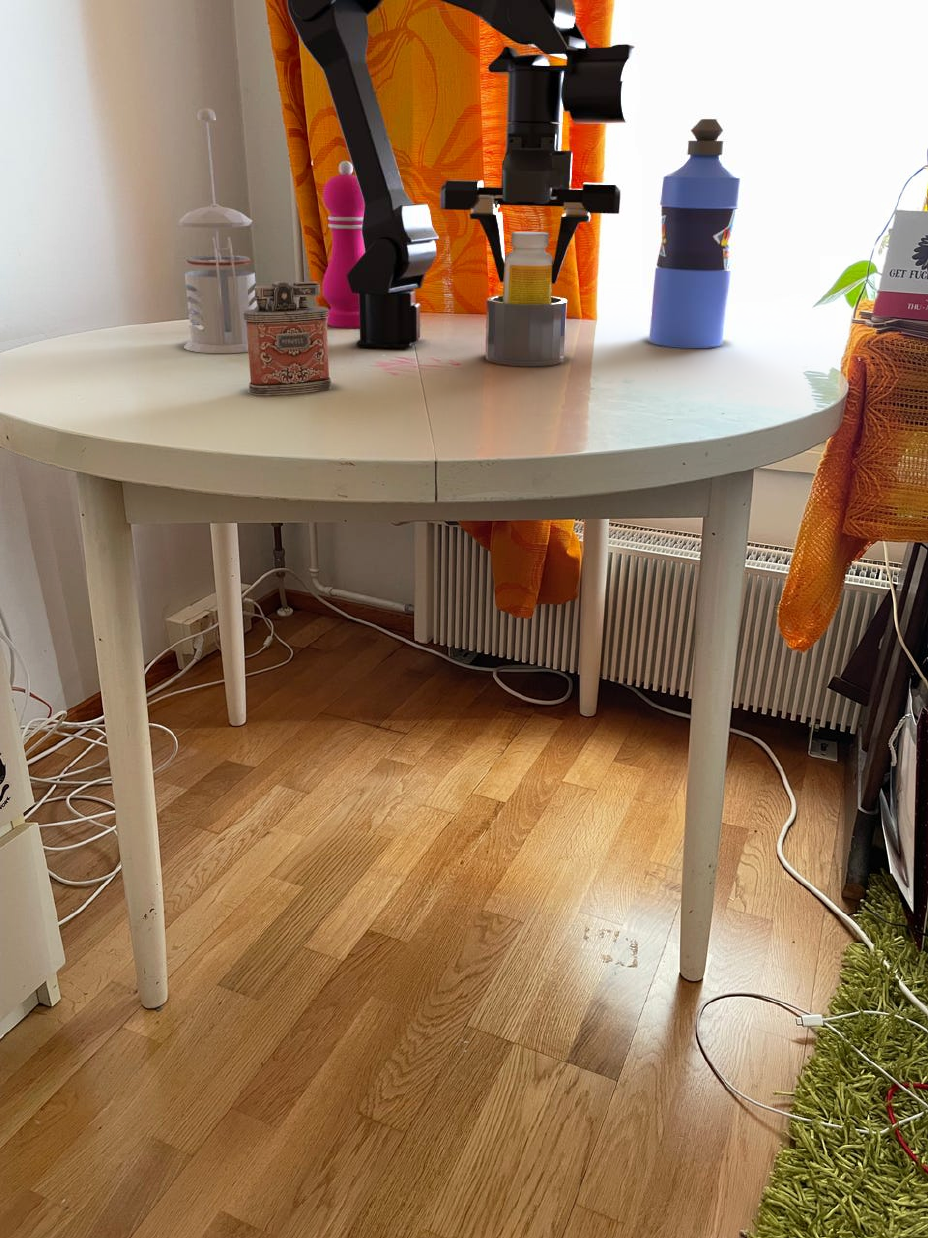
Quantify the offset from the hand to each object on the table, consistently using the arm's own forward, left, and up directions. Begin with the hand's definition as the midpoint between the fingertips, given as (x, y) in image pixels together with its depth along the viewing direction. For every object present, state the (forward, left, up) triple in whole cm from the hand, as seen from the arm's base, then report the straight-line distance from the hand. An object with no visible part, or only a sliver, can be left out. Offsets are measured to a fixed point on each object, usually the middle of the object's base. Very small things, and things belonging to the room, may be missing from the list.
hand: (527, 282), depth 108 cm
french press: (-35, 0, -8) cm, 36 cm away
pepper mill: (-25, +20, -8) cm, 33 cm away
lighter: (-21, -21, -8) cm, 31 cm away
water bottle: (+19, +16, -8) cm, 26 cm away
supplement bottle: (0, 0, -5) cm, 5 cm away
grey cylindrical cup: (0, 0, -8) cm, 8 cm away
